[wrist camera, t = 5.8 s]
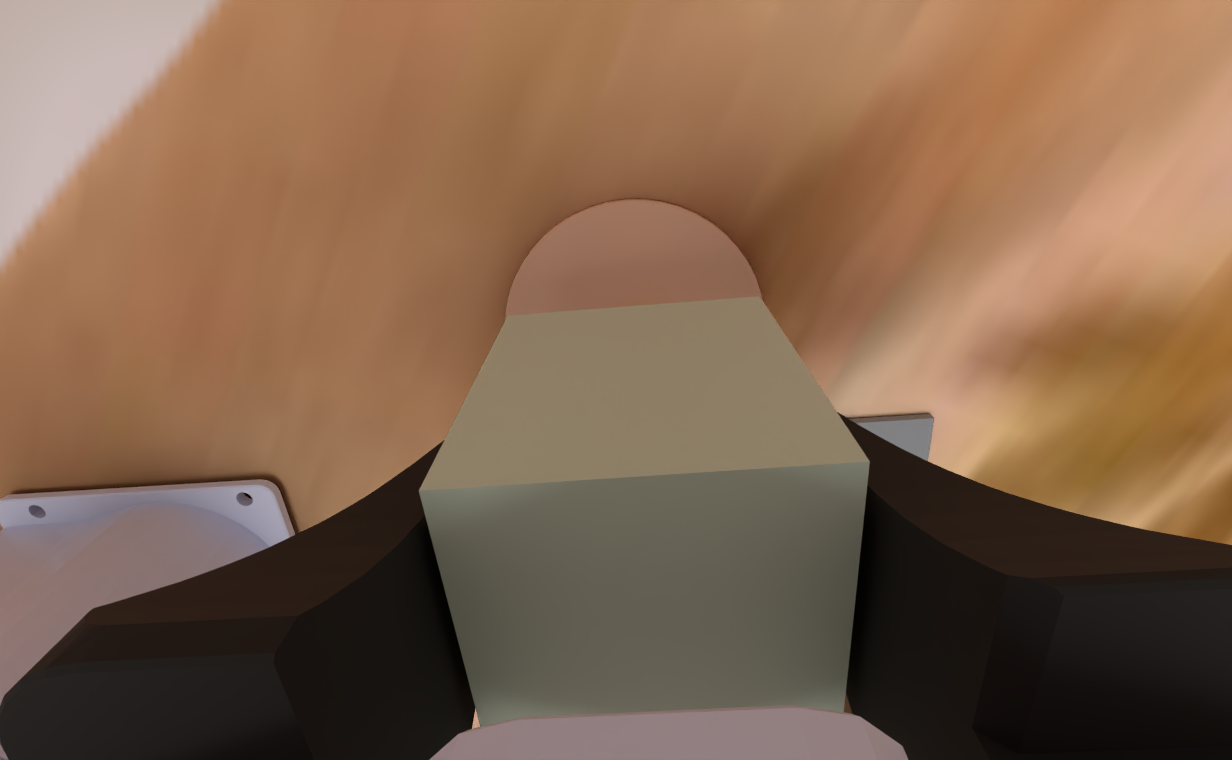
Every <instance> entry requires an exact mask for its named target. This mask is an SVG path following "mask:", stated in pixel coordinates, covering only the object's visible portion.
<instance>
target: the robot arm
mask: <svg viewBox="0 0 1232 760" xmlns="http://www.w3.org/2000/svg"><path fill="white" fill-rule="evenodd" d="M837 413H838V412H837ZM838 415H839V416H840V418H841V419H842V421H843V422H844V424H845V425H846V427H847V428H848V430H849V431H850V433H851V434H852V436H853V437H854V439H855V440H856V442H857V443H858V445H859V446H860V448H861V449H862V451H863V452H864V454H865V455H866V457H867V458H868V460H869V461H870V464H869V474H868V484H867V493H866V503H865V512H864V522H863V532H862V541H861V551H860V560H859V570H858V580H857V589H856V599H855V608H854V618H853V628H852V637H851V647H850V656H849V666H848V676H847V685H846V695H847V698H848V701H849V705H850V708H851V711H852V714H850V713H845V712H838V711H831V710H824V709H816V708H809V707H802V706H795V705H785V706H762V707H740V708H717V709H695V710H672V711H650V712H627V713H605V714H582V715H559V716H537V717H520V718H516V719H512V720H507V721H503V722H499V723H495V724H491V725H486V726H482V727H478V728H474V729H472V724H473V718H474V713H475V704H474V700H473V696H472V692H471V689H470V685H469V681H468V677H467V673H466V669H465V666H464V662H463V658H462V654H461V650H460V647H459V643H458V639H457V635H456V631H455V627H454V624H453V620H452V616H451V612H450V608H449V604H448V601H447V597H446V593H445V589H444V585H443V582H442V578H441V574H440V570H439V566H438V562H437V559H436V555H435V551H434V547H433V543H432V540H431V536H430V532H429V528H428V524H427V520H426V517H425V513H424V509H423V505H422V501H421V497H420V494H419V489H420V487H421V485H422V483H423V481H424V479H425V478H426V476H427V474H428V472H429V470H430V468H431V466H432V464H433V462H434V460H435V458H436V456H437V454H438V452H439V450H440V448H441V446H442V444H443V442H444V441H442V442H441V443H440V444H439V445H437V446H436V447H435V448H433V449H432V450H431V451H429V452H428V453H427V454H426V455H424V456H423V457H422V458H420V459H419V460H418V461H417V462H415V463H414V464H413V465H411V466H410V467H408V468H407V469H405V470H404V471H403V472H401V473H400V474H398V475H397V476H395V477H394V478H392V479H391V480H390V481H388V482H387V483H385V484H384V485H382V486H381V487H380V488H378V489H377V490H375V491H374V492H372V493H371V494H369V495H368V496H366V497H364V498H363V499H361V500H359V501H358V502H356V503H354V504H353V505H351V506H349V507H348V508H346V509H344V510H342V511H341V512H339V513H337V514H335V515H333V516H332V517H330V518H328V519H326V520H324V521H322V522H321V523H319V524H317V525H315V526H313V527H310V528H308V529H306V530H304V531H302V532H300V533H298V534H296V535H295V532H294V530H293V527H292V524H291V521H290V518H289V515H288V513H287V510H286V507H285V504H284V501H283V498H282V496H281V493H280V491H279V489H278V487H277V486H276V485H275V484H274V483H272V482H270V481H268V480H262V479H258V480H242V481H225V482H209V483H192V484H176V485H159V486H143V487H127V488H110V489H94V490H77V491H61V492H44V493H28V494H12V495H7V496H4V497H3V498H1V499H0V524H1V526H2V527H3V529H2V530H0V760H1232V545H1228V544H1222V543H1216V542H1211V541H1205V540H1199V539H1194V538H1188V537H1182V536H1177V535H1171V534H1166V533H1160V532H1154V531H1149V530H1144V529H1139V528H1134V527H1130V526H1126V525H1121V524H1117V523H1113V522H1109V521H1104V520H1100V519H1096V518H1092V517H1087V516H1083V515H1080V514H1076V513H1072V512H1069V511H1065V510H1061V509H1057V508H1054V507H1050V506H1047V505H1044V504H1041V503H1037V502H1034V501H1031V500H1028V499H1025V498H1021V497H1018V496H1015V495H1012V494H1009V493H1006V492H1003V491H1000V490H997V489H994V488H991V487H989V486H986V485H983V484H981V483H978V482H976V481H973V480H971V479H968V478H966V477H963V476H961V475H958V474H956V473H953V472H951V471H948V470H946V469H943V468H941V467H939V466H937V465H934V464H932V463H930V462H928V461H926V460H924V459H922V458H920V457H918V456H916V455H914V454H912V453H910V452H908V451H906V450H904V449H902V448H900V447H898V446H896V445H894V444H892V443H890V442H888V441H886V440H885V439H883V438H881V437H879V436H877V435H876V434H874V433H872V432H870V431H868V430H867V429H865V428H863V427H862V426H860V425H858V424H856V423H855V422H853V421H851V420H850V419H848V418H846V417H845V416H843V415H841V414H839V413H838ZM244 493H247V494H249V495H250V496H251V497H252V499H251V498H248V497H246V496H245V494H244Z"/></svg>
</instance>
